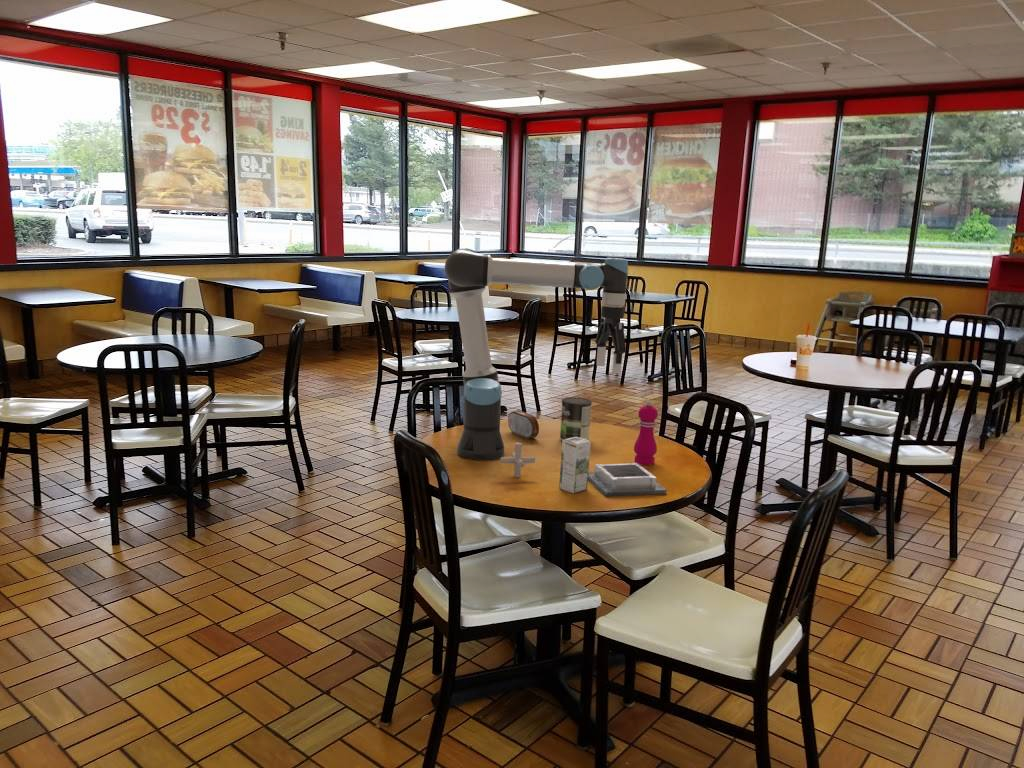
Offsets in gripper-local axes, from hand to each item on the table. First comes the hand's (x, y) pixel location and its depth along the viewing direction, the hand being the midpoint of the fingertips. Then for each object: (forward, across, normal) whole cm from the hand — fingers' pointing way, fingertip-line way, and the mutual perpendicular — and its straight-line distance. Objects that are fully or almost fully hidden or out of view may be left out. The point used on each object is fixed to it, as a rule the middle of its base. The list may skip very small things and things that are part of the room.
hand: (608, 369), depth 251 cm
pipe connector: (+27, -27, +38) cm, 54 cm away
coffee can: (+27, +9, +7) cm, 29 cm away
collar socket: (+26, -39, +9) cm, 48 cm away
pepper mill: (+26, -20, -6) cm, 34 cm away
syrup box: (+27, -40, +25) cm, 55 cm away
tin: (+27, +16, +23) cm, 39 cm away
